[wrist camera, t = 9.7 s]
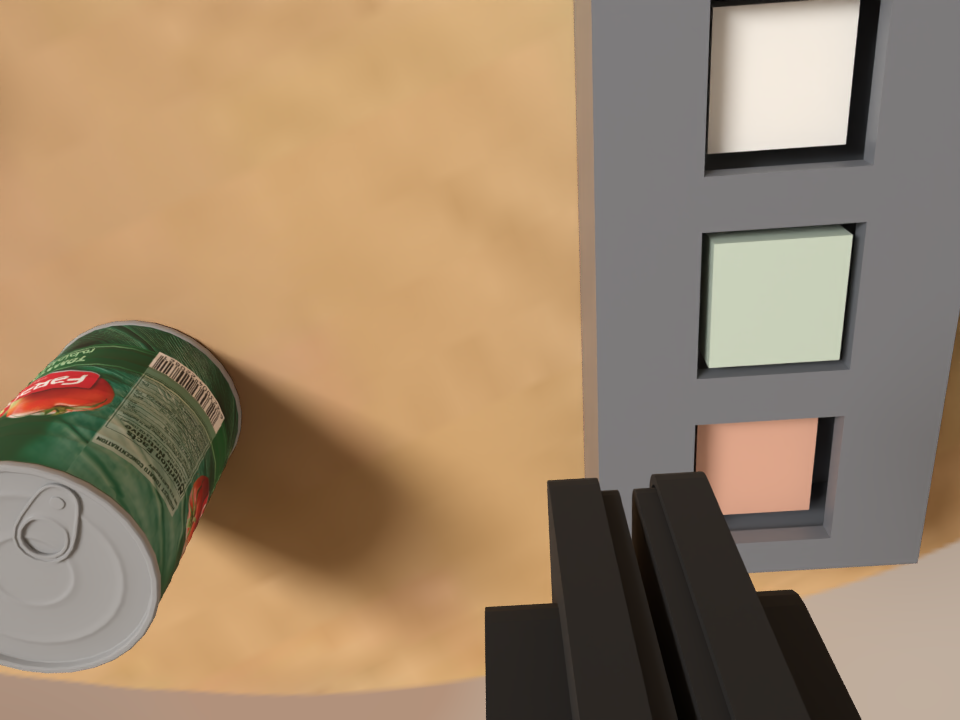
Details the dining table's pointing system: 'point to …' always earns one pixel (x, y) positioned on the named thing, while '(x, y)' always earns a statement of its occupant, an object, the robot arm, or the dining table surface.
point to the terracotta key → (758, 464)
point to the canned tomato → (105, 489)
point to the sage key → (773, 295)
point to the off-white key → (779, 73)
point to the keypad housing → (763, 205)
